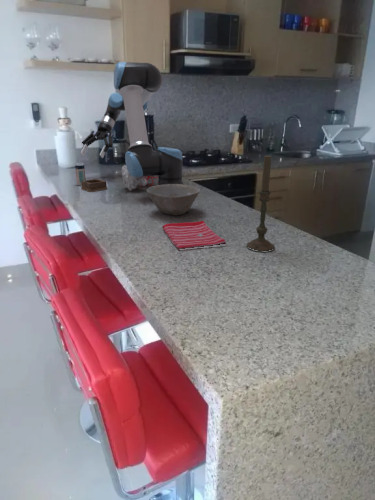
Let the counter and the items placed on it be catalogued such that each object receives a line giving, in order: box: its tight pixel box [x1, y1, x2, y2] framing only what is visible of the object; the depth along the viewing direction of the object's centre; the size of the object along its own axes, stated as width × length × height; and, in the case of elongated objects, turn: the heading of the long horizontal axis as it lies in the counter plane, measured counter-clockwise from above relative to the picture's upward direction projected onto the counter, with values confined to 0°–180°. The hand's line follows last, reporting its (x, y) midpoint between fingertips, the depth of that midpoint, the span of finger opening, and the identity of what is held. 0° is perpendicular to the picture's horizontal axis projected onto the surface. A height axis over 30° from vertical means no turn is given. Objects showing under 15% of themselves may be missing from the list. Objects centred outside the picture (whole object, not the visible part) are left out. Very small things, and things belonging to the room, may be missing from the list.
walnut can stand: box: [80, 178, 108, 193], centre depth 205 cm, size 10×10×4 cm
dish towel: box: [161, 220, 227, 250], centre depth 135 cm, size 17×24×3 cm
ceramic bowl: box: [146, 183, 201, 216], centre depth 163 cm, size 22×23×10 cm
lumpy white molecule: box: [121, 164, 158, 192], centre depth 208 cm, size 20×18×25 cm
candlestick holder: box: [246, 155, 276, 251], centre depth 121 cm, size 9×9×30 cm
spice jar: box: [74, 162, 87, 187], centre depth 213 cm, size 5×5×12 cm
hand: (91, 155), depth 219 cm, fingers open, 13 cm apart
